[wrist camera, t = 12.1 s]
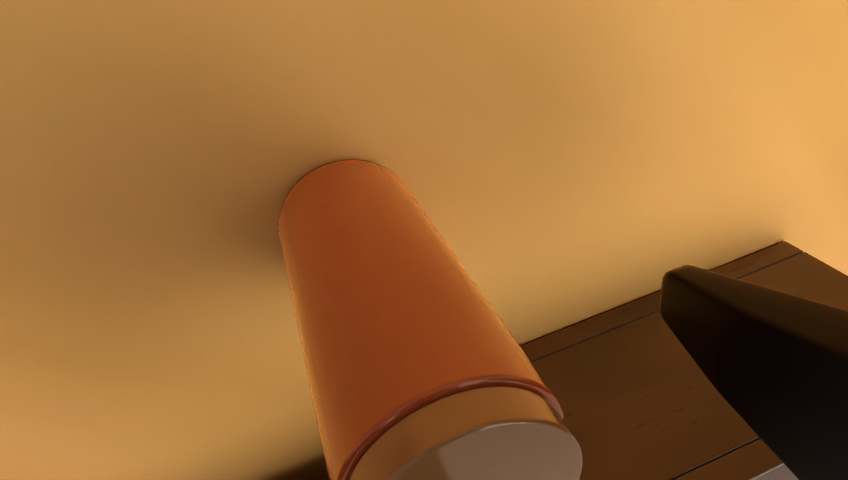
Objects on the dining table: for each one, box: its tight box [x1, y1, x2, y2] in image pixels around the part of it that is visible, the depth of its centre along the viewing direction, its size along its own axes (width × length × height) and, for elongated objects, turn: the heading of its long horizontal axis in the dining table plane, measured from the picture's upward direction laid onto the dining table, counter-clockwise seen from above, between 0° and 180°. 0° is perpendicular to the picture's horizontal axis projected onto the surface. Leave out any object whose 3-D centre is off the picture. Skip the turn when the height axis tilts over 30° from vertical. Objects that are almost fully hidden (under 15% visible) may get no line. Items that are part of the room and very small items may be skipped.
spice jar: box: [279, 160, 583, 480], centre depth 10 cm, size 3×3×8 cm
